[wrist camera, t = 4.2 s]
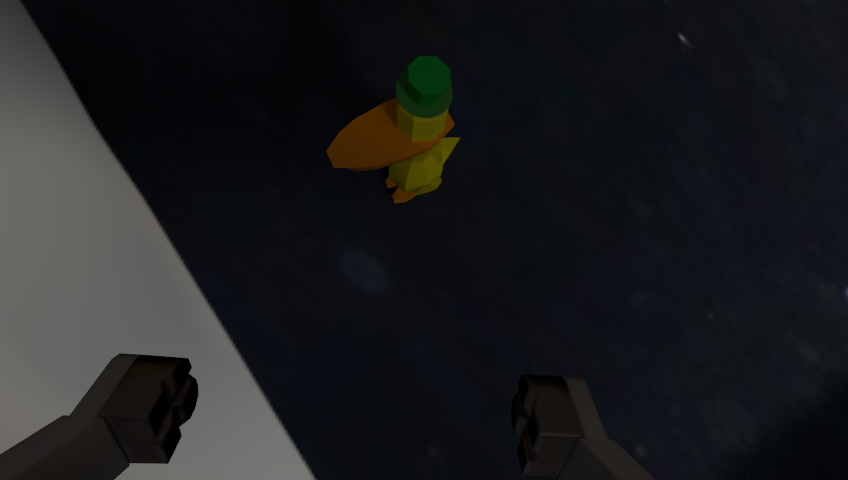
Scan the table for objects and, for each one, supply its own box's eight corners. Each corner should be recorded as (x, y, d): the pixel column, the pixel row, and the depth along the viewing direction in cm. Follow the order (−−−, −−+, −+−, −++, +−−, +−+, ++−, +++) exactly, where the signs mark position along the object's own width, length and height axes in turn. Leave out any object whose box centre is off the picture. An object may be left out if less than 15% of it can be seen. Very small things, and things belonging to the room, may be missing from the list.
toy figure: (363, 235, 26) (335, 165, 14) (339, 183, 26) (292, 74, 15) (462, 189, 27) (514, 89, 15) (437, 140, 27) (468, 5, 15)
